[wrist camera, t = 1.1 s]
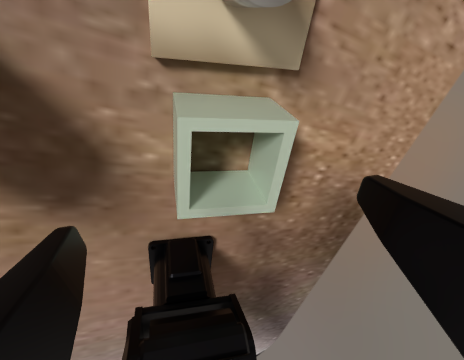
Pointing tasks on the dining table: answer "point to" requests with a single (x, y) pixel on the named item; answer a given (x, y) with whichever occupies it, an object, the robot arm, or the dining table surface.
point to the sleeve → (231, 182)
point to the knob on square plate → (231, 31)
